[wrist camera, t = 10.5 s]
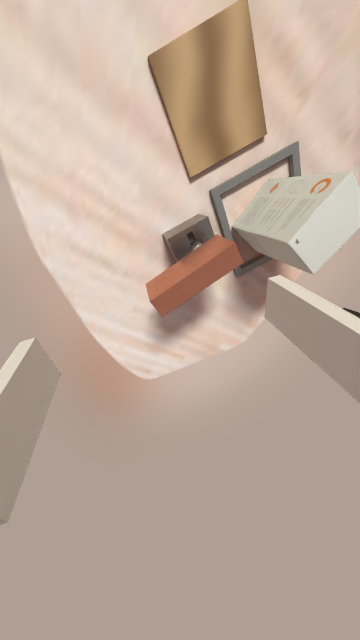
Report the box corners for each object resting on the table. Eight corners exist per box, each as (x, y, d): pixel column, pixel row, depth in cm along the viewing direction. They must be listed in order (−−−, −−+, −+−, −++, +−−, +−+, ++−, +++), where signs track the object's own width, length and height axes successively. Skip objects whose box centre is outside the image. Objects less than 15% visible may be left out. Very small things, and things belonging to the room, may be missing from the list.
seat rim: (294, 142, 28) (298, 141, 27) (302, 239, 36) (306, 240, 35) (209, 190, 28) (211, 190, 28) (235, 275, 36) (237, 276, 36)
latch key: (143, 276, 28) (149, 301, 22) (208, 230, 27) (235, 242, 20) (153, 289, 30) (162, 316, 23) (215, 246, 28) (243, 262, 22)
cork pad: (243, 0, 20) (246, -5, 20) (264, 135, 27) (266, 133, 26) (147, 59, 21) (148, 55, 20) (189, 177, 27) (190, 177, 27)
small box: (254, 251, 35) (313, 277, 24) (230, 226, 32) (285, 243, 21) (291, 208, 32) (374, 215, 22) (268, 177, 29) (353, 167, 19)
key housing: (198, 214, 30) (208, 216, 26) (212, 251, 33) (222, 258, 30) (162, 234, 30) (167, 239, 27) (179, 269, 33) (185, 278, 30)
